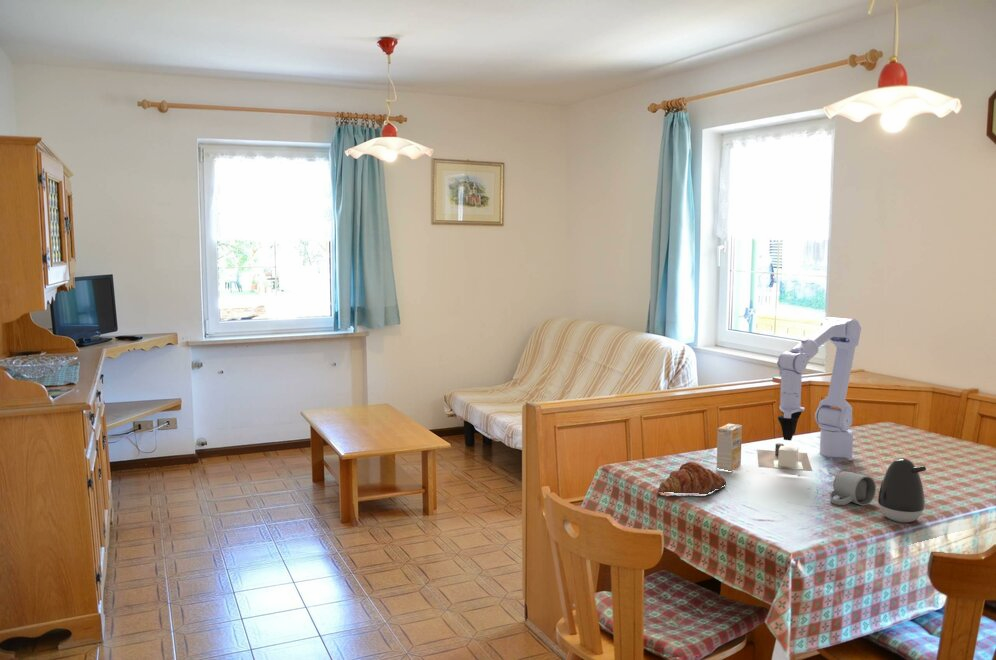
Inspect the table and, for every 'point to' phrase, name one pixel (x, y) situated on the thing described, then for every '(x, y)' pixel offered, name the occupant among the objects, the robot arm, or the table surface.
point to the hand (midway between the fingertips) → (789, 437)
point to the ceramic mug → (853, 489)
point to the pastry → (692, 480)
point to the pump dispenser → (902, 491)
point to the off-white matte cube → (788, 456)
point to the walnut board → (771, 459)
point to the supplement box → (729, 446)
